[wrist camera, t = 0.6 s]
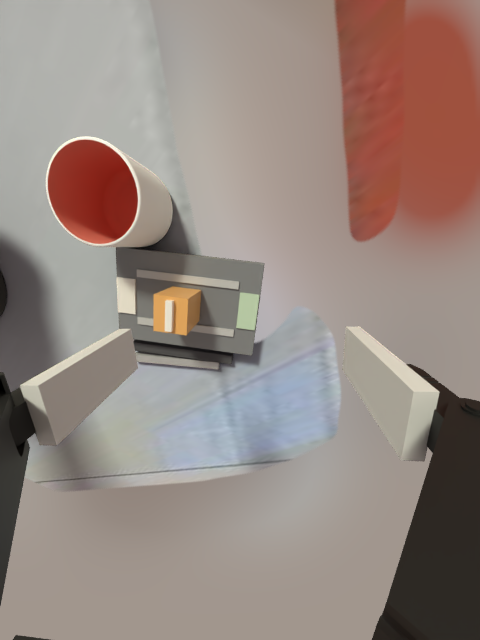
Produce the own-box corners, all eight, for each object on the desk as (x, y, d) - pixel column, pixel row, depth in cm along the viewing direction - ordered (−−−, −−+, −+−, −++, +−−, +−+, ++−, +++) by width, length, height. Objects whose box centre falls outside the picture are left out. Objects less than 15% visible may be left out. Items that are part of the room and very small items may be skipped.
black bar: (136, 347, 40) (132, 350, 39) (136, 339, 39) (132, 342, 38) (232, 360, 39) (231, 364, 38) (233, 352, 39) (232, 356, 37)
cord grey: (136, 358, 40) (133, 361, 40) (136, 352, 40) (133, 354, 39) (219, 366, 39) (218, 369, 38) (219, 359, 39) (218, 362, 38)
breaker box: (130, 330, 39) (118, 337, 36) (127, 247, 35) (114, 246, 32) (252, 347, 38) (251, 356, 35) (264, 263, 34) (264, 264, 31)
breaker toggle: (171, 317, 34) (151, 332, 28) (172, 286, 33) (151, 295, 27) (199, 320, 34) (184, 337, 28) (201, 289, 33) (186, 299, 26)
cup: (150, 261, 36) (108, 266, 26) (93, 214, 34) (29, 202, 25) (190, 204, 33) (160, 186, 23) (130, 151, 32) (73, 109, 22)
